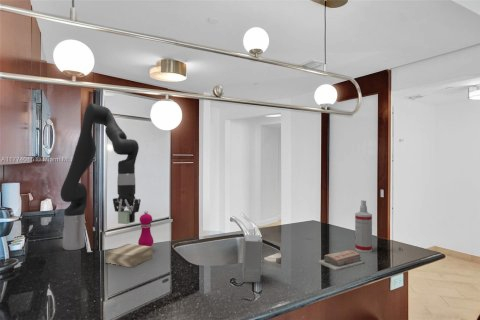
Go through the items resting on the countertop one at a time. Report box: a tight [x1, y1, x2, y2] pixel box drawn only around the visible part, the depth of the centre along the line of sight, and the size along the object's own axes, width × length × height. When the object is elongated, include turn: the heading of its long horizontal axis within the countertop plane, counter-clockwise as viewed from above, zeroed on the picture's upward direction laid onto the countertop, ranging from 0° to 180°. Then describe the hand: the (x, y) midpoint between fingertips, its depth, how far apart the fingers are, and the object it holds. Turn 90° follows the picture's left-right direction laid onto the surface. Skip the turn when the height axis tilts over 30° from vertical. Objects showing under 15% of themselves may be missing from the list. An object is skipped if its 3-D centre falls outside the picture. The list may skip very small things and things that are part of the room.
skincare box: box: [241, 234, 263, 283], centre depth 114 cm, size 8×7×16 cm
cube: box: [117, 209, 136, 225], centre depth 134 cm, size 5×5×5 cm
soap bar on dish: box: [318, 249, 365, 271], centre depth 131 cm, size 18×5×10 cm
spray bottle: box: [354, 200, 373, 253], centre depth 151 cm, size 8×8×25 cm
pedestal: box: [105, 243, 154, 268], centre depth 135 cm, size 14×14×5 cm
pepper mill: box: [137, 210, 154, 247], centre depth 149 cm, size 7×7×20 cm
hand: (126, 221), depth 134 cm, fingers closed on cube, 5 cm apart
